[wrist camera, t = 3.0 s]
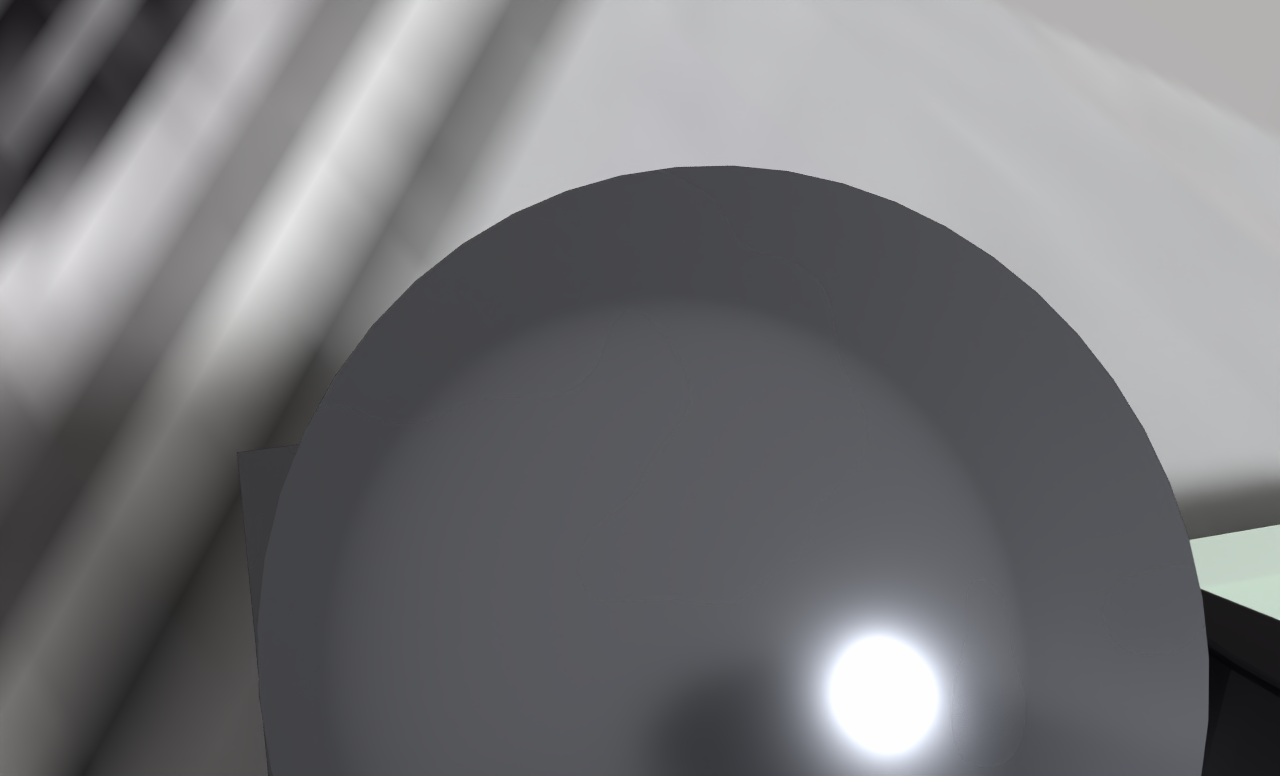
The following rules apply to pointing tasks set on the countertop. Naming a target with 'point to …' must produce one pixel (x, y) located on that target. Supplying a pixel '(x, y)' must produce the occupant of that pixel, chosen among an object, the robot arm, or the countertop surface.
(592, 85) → the countertop surface
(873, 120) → the countertop surface
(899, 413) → the grey cylinder in socket
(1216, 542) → the tray
